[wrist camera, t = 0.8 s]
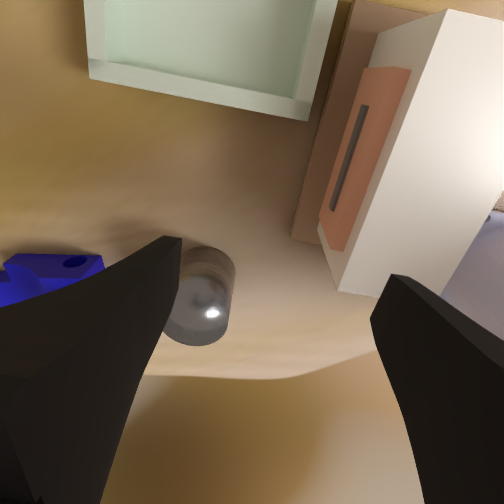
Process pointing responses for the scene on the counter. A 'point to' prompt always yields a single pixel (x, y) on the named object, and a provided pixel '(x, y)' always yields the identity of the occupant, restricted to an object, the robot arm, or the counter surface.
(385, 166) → the mounted housing
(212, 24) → the parts tray
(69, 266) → the blue cradle block
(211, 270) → the coupling
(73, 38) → the counter surface
